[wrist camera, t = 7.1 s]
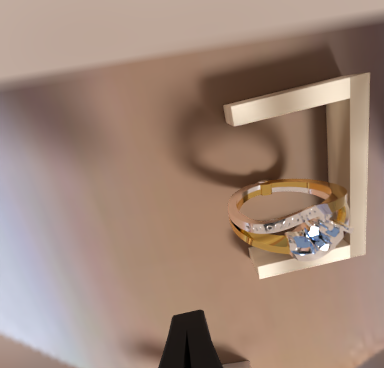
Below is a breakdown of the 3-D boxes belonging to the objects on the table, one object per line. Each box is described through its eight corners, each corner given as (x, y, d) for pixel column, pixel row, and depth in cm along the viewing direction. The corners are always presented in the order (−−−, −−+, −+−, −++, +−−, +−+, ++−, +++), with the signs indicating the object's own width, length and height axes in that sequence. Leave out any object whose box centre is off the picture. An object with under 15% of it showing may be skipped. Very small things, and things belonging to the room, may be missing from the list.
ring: (306, 157, 18) (397, 199, 11) (305, 196, 19) (388, 258, 12) (216, 173, 18) (245, 226, 11) (221, 210, 19) (250, 282, 12)
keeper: (342, 75, 16) (370, 72, 14) (343, 236, 21) (365, 254, 19) (223, 105, 17) (230, 106, 14) (250, 258, 21) (259, 279, 19)
